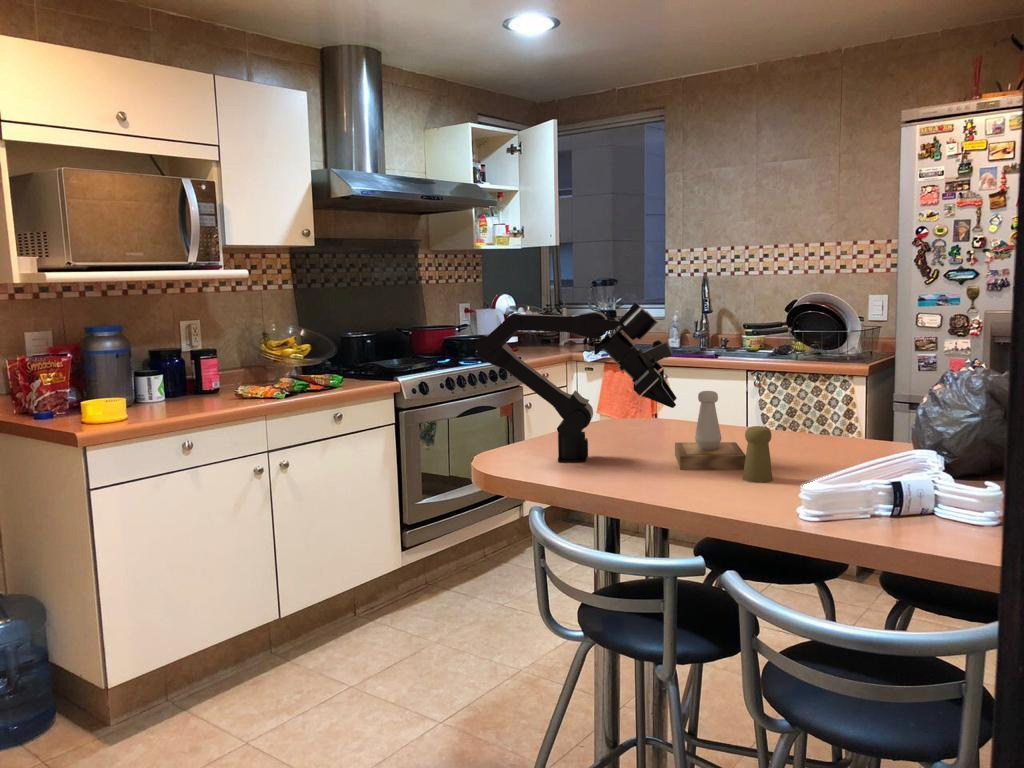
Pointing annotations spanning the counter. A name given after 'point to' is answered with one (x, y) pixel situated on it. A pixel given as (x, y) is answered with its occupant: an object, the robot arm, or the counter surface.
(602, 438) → the counter surface
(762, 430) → the pepper shaker
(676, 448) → the base board
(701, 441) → the salt shaker
